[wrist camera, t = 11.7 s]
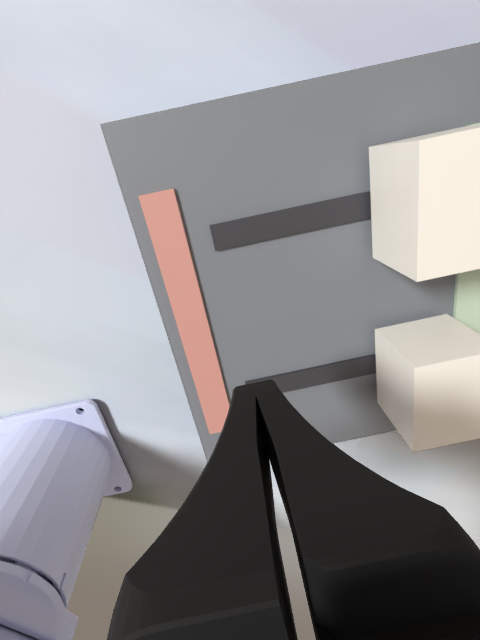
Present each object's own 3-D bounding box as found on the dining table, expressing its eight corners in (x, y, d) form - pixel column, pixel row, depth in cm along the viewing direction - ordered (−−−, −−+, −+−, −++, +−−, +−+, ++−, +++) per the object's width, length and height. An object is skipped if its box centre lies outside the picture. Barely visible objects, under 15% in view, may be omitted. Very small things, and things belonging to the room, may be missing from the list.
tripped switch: (372, 257, 17) (416, 281, 14) (368, 147, 15) (419, 140, 11) (451, 240, 17) (517, 260, 13) (458, 127, 15) (538, 114, 11)
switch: (377, 402, 21) (413, 452, 17) (374, 329, 19) (414, 368, 15) (442, 388, 21) (492, 435, 17) (446, 313, 19) (504, 349, 15)
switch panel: (209, 446, 24) (209, 471, 22) (112, 129, 16) (98, 123, 14) (460, 393, 24) (483, 414, 22) (490, 47, 16) (529, 30, 14)
